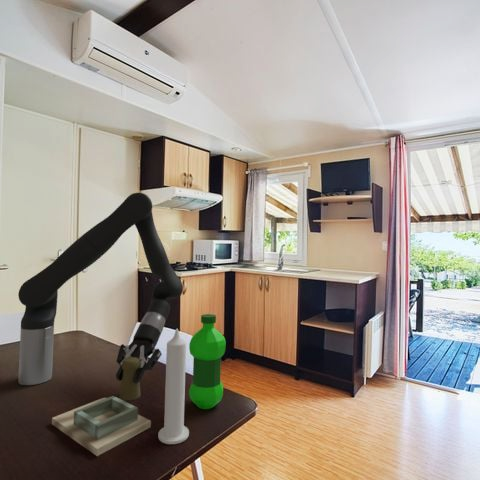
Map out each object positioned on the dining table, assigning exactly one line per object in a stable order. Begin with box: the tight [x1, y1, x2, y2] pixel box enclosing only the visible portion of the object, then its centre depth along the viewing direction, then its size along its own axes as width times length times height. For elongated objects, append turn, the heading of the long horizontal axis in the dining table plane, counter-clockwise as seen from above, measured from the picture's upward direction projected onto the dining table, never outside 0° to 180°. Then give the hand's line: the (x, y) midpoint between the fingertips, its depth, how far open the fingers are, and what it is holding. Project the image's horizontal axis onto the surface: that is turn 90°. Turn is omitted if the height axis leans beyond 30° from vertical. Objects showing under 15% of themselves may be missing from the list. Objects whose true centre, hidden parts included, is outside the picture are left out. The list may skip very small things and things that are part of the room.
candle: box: [157, 328, 190, 445], centre depth 76 cm, size 7×7×25 cm
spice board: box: [51, 395, 152, 457], centre depth 79 cm, size 20×14×4 cm
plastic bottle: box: [188, 313, 227, 410], centre depth 91 cm, size 10×10×25 cm
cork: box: [118, 356, 142, 402], centre depth 95 cm, size 6×6×11 cm
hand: (126, 380), depth 94 cm, fingers closed on cork, 5 cm apart
